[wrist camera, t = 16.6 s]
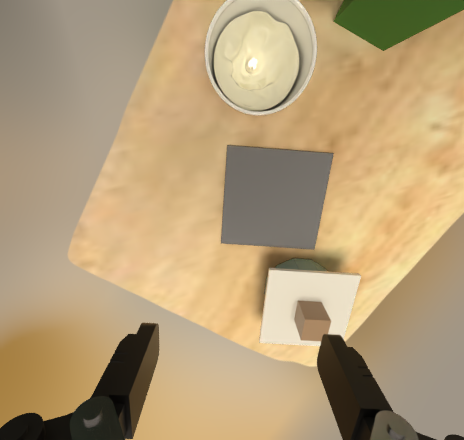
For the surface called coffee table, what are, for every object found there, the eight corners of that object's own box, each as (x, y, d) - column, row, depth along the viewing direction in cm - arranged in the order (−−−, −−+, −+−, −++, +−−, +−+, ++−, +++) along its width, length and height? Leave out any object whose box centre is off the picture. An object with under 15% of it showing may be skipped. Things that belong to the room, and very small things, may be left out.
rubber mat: (332, 153, 37) (333, 153, 37) (313, 248, 42) (314, 249, 42) (227, 145, 37) (227, 145, 36) (221, 242, 42) (220, 243, 41)
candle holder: (232, 19, 32) (233, -42, 20) (302, 58, 33) (339, 21, 22) (201, 99, 35) (187, 84, 23) (266, 131, 36) (283, 133, 25)
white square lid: (358, 273, 37) (375, 292, 33) (339, 344, 42) (352, 369, 37) (269, 267, 37) (273, 286, 33) (259, 339, 41) (262, 364, 37)
